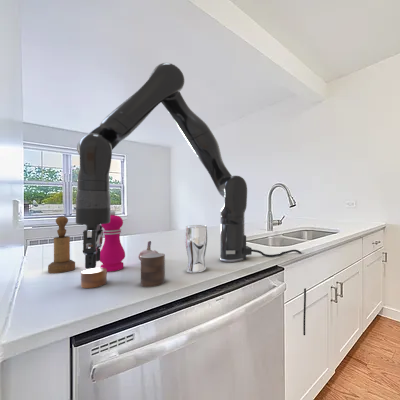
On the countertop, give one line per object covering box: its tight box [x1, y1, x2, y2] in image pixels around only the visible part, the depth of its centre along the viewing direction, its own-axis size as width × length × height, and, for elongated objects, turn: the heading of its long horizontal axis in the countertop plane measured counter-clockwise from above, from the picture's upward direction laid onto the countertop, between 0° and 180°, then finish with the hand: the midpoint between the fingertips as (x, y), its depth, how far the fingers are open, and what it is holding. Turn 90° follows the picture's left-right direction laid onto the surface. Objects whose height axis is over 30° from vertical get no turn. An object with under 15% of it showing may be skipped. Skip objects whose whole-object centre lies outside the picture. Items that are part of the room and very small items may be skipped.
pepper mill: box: [98, 210, 126, 273], centre depth 86 cm, size 7×7×20 cm
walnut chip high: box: [140, 252, 166, 273], centre depth 73 cm, size 6×6×4 cm
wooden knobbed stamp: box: [47, 215, 76, 274], centre depth 84 cm, size 7×6×18 cm
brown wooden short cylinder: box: [80, 267, 108, 289], centre depth 71 cm, size 6×6×4 cm
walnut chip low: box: [140, 268, 166, 288], centre depth 73 cm, size 6×6×4 cm
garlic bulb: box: [138, 240, 159, 262], centre depth 95 cm, size 8×7×8 cm
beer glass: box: [184, 224, 208, 274], centre depth 85 cm, size 7×7×15 cm
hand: (93, 264), depth 71 cm, fingers open, 8 cm apart
